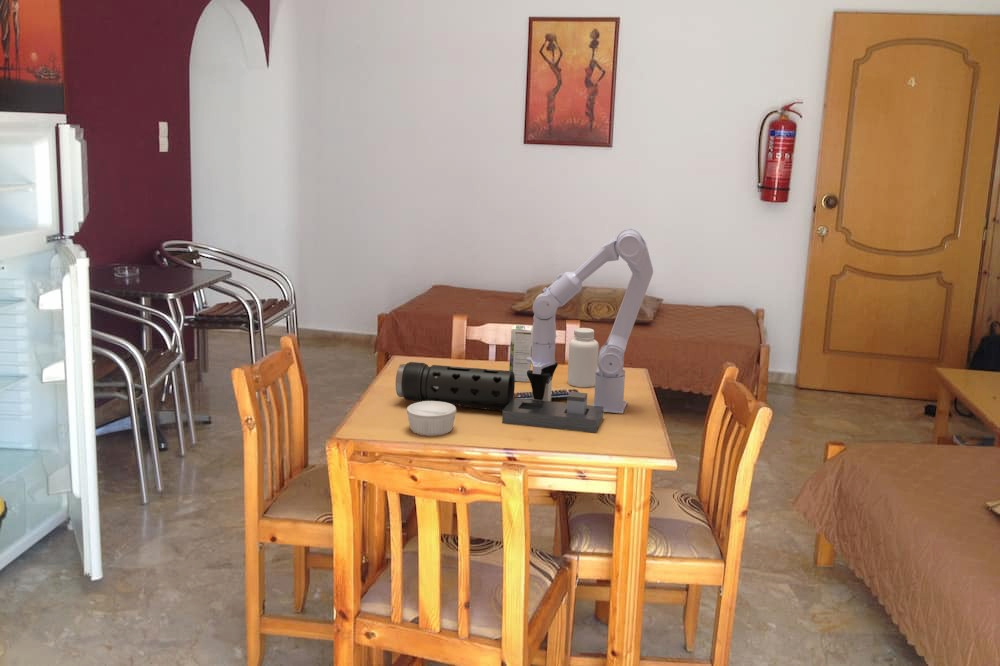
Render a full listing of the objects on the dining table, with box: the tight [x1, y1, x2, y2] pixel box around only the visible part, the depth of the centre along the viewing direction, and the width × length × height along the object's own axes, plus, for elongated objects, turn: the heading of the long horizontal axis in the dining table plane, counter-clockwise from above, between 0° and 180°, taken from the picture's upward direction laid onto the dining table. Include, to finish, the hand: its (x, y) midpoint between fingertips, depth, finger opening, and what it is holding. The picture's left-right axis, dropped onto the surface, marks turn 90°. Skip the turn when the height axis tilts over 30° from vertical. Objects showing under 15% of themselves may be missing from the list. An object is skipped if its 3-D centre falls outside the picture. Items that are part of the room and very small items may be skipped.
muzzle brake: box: [395, 361, 516, 411], centre depth 232 cm, size 10×28×10 cm, turn 78°
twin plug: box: [566, 391, 588, 415], centre depth 221 cm, size 4×4×7 cm
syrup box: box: [508, 324, 533, 383], centre depth 257 cm, size 6×6×14 cm
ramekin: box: [406, 401, 457, 437], centre depth 214 cm, size 11×11×5 cm
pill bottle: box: [567, 327, 600, 388], centre depth 254 cm, size 8×8×15 cm
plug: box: [531, 376, 553, 402], centre depth 236 cm, size 4×4×7 cm
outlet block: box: [501, 397, 604, 434], centre depth 223 cm, size 11×22×3 cm, turn 76°
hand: (541, 395), depth 236 cm, fingers open, 7 cm apart
